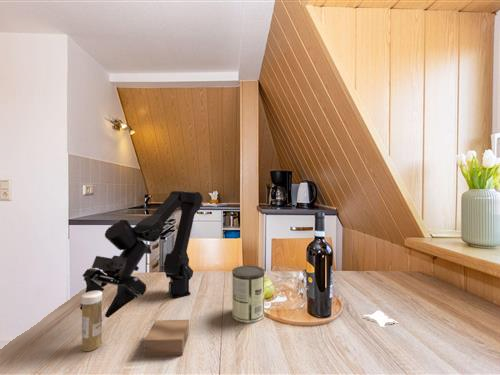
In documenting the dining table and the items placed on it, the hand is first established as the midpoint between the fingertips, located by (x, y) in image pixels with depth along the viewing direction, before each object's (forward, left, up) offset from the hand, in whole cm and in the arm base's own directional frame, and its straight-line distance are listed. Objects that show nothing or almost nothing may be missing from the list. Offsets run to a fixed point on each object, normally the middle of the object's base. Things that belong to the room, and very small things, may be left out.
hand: (93, 313), depth 66 cm
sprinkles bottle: (0, 0, -8) cm, 8 cm away
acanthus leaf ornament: (-73, +33, -9) cm, 81 cm away
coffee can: (-42, +8, -8) cm, 43 cm away
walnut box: (-16, +10, -8) cm, 20 cm away
